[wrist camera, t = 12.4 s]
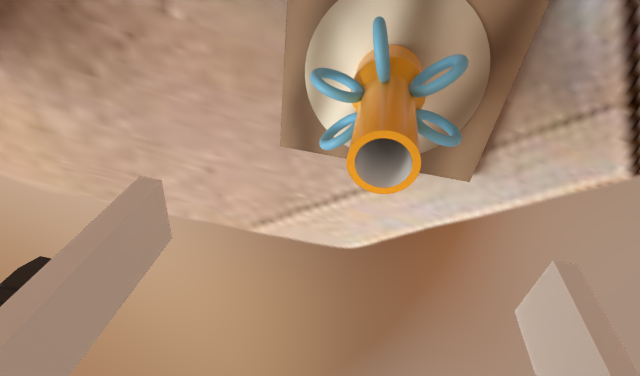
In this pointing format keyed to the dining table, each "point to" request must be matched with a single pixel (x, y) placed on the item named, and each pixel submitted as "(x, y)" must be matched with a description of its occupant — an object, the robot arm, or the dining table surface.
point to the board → (429, 46)
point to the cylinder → (388, 112)
